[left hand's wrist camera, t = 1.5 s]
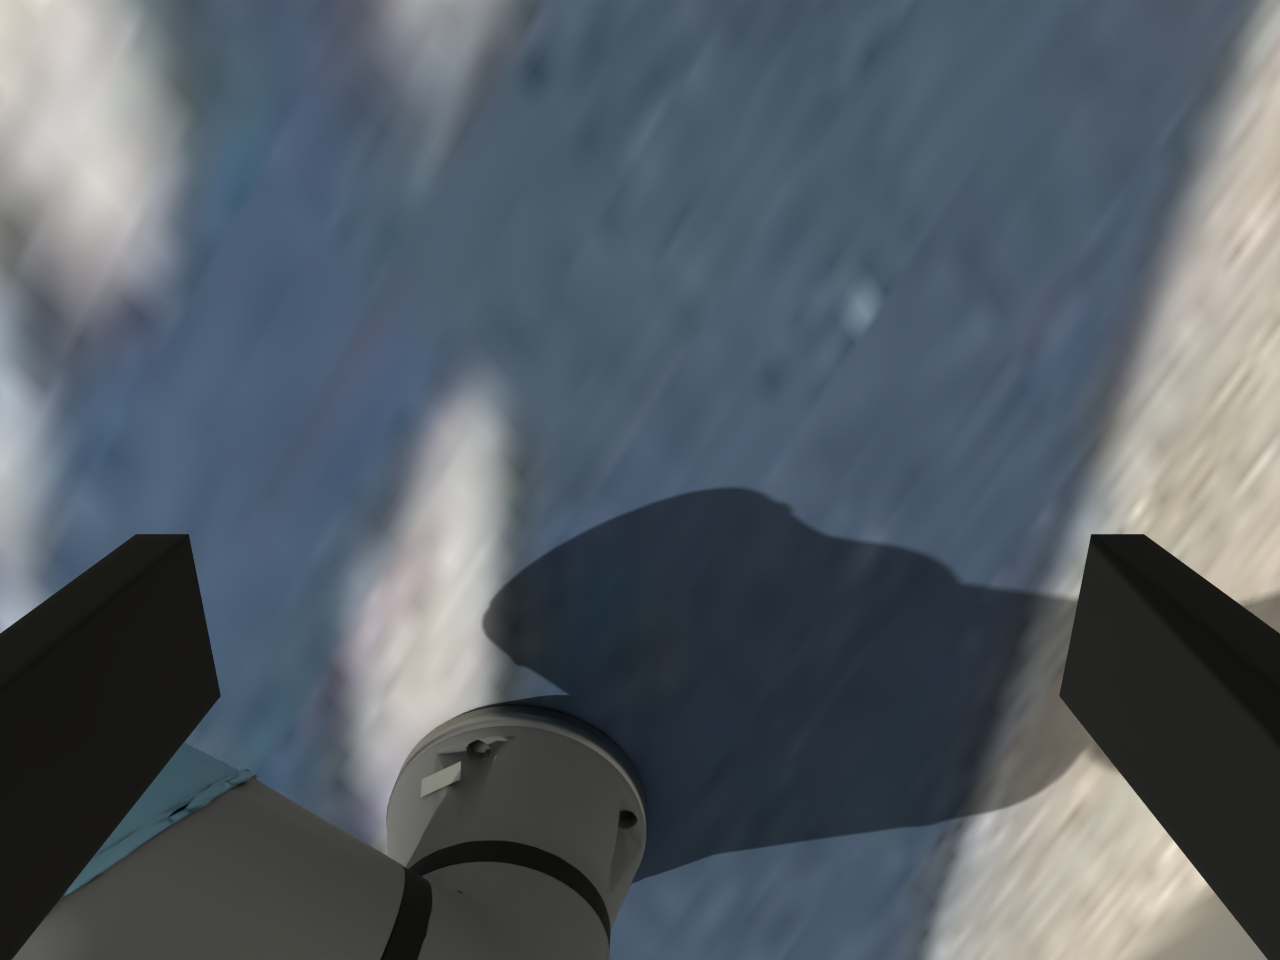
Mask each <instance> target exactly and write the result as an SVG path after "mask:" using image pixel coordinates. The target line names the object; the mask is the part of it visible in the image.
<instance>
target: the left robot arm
mask: <svg viewBox="0 0 1280 960" xmlns="http://www.w3.org/2000/svg"><path fill="white" fill-rule="evenodd" d="M220 696H221V695H220V690H219V685H218V680H217V675H216V670H215V665H214V660H213V655H212V650H211V645H210V640H209V635H208V630H207V625H206V619H205V614H204V609H203V604H202V599H201V594H200V589H199V584H198V579H197V574H196V569H195V564H194V559H193V554H192V549H191V543H190V538H189V534H136V535H134V536H133V537H132V538H130V539H129V540H128V541H126V542H125V543H124V544H122V545H121V546H119V547H118V548H117V549H115V550H114V551H113V552H111V553H110V554H108V555H107V556H106V557H104V558H103V559H102V560H100V561H99V562H98V563H96V564H95V565H93V566H92V567H91V568H89V569H88V570H87V571H85V572H84V573H83V574H81V575H80V576H78V577H77V578H76V579H74V580H73V581H72V582H70V583H69V584H67V585H66V586H65V587H63V588H62V589H61V590H59V591H58V592H57V593H55V594H54V595H52V596H51V597H50V598H48V599H47V600H46V601H44V602H43V603H42V604H40V605H39V606H37V607H36V608H35V609H33V610H32V611H31V612H29V613H28V614H26V615H25V616H24V617H22V618H21V619H20V620H18V621H17V622H16V623H14V624H13V625H11V626H10V627H9V628H7V629H6V630H5V631H3V632H2V633H0V960H609V950H610V931H611V928H612V926H613V923H614V921H615V919H616V917H617V914H618V912H619V910H620V908H621V905H622V903H623V901H624V899H625V896H626V894H627V892H628V890H629V887H630V885H631V883H632V881H633V878H634V876H635V874H636V872H637V870H638V868H639V866H640V863H641V860H642V858H643V854H644V850H645V843H646V802H645V795H644V791H643V787H642V784H641V782H640V779H639V777H638V775H637V773H636V771H635V769H634V767H633V766H632V764H631V763H630V761H629V760H628V758H627V757H626V756H625V755H624V753H623V752H622V751H621V750H620V749H619V748H618V747H617V746H616V745H615V744H614V743H613V742H612V741H611V740H610V739H608V738H607V737H606V736H605V735H603V734H602V733H601V732H599V731H598V730H596V729H595V728H593V727H591V726H590V725H588V724H586V723H584V722H582V721H580V720H578V719H576V718H573V717H571V716H568V715H565V714H562V713H559V712H556V711H552V710H548V709H543V708H537V707H530V706H498V707H490V708H484V709H479V710H475V711H472V712H468V713H465V714H463V715H460V716H457V717H455V718H453V719H451V720H449V721H447V722H445V723H443V724H442V725H440V726H438V727H437V728H435V729H434V730H433V731H431V732H430V733H429V734H427V735H426V736H425V737H424V738H423V739H422V740H421V741H420V742H419V743H418V744H417V745H416V746H415V747H414V749H413V750H412V751H411V753H410V754H409V756H408V757H407V759H406V760H405V762H404V764H403V766H402V768H401V771H400V773H399V776H398V778H397V781H396V783H395V786H394V788H393V791H392V794H391V796H390V799H389V804H388V808H387V817H386V820H387V842H388V856H386V855H384V854H383V853H381V852H379V851H378V850H376V849H374V848H372V847H371V846H369V845H367V844H366V843H364V842H362V841H360V840H359V839H357V838H355V837H353V836H352V835H350V834H348V833H347V832H345V831H343V830H341V829H340V828H338V827H336V826H334V825H333V824H331V823H329V822H328V821H326V820H324V819H322V818H321V817H319V816H317V815H315V814H314V813H312V812H310V811H309V810H307V809H305V808H303V807H302V806H300V805H298V804H296V803H295V802H293V801H291V800H290V799H288V798H286V797H284V796H283V795H281V794H279V793H278V792H276V791H274V790H273V789H271V788H269V787H268V786H266V785H265V784H263V783H261V782H260V781H258V780H256V778H257V775H255V774H254V773H253V772H252V771H250V770H247V769H245V770H238V769H236V768H234V767H232V766H230V765H228V764H226V763H224V762H222V761H220V760H218V759H216V758H214V757H212V756H210V755H208V754H206V753H204V752H202V751H200V750H198V749H196V748H194V747H192V746H190V745H188V744H186V743H184V742H185V740H186V739H187V738H188V737H189V735H190V734H191V733H192V731H193V730H194V729H195V728H196V726H197V725H198V724H199V723H200V721H201V720H202V719H203V718H204V716H205V715H206V714H207V712H208V711H209V710H210V709H211V707H212V706H213V705H214V704H215V702H216V701H217V700H218V699H219V697H220ZM1059 696H1060V697H1061V699H1062V700H1063V701H1064V702H1065V704H1066V705H1067V706H1068V707H1069V709H1070V710H1071V711H1072V712H1073V714H1074V715H1075V716H1076V718H1077V719H1078V720H1079V721H1080V723H1081V724H1082V725H1083V726H1084V728H1085V729H1086V730H1087V731H1088V733H1089V734H1090V735H1091V737H1092V738H1093V739H1094V740H1095V742H1096V743H1097V744H1098V745H1099V747H1100V748H1101V749H1102V750H1103V752H1104V753H1105V754H1106V755H1107V757H1108V758H1109V759H1110V761H1111V762H1112V763H1113V764H1114V766H1115V767H1116V768H1117V769H1118V771H1119V772H1120V773H1121V774H1122V776H1123V777H1124V778H1125V780H1126V781H1127V782H1128V783H1129V785H1130V786H1131V787H1132V788H1133V790H1134V791H1135V792H1136V793H1137V795H1138V796H1139V797H1140V798H1141V800H1142V801H1143V802H1144V804H1145V805H1146V806H1147V807H1148V809H1149V810H1150V811H1151V812H1152V814H1153V815H1154V816H1155V817H1156V819H1157V820H1158V821H1159V823H1160V824H1161V825H1162V826H1163V828H1164V829H1165V830H1166V831H1167V833H1168V834H1169V835H1170V836H1171V838H1172V839H1173V840H1174V841H1175V843H1176V844H1177V845H1178V847H1179V848H1180V849H1181V850H1182V852H1183V853H1184V854H1185V855H1186V857H1187V858H1188V859H1189V860H1190V862H1191V863H1192V864H1193V865H1194V867H1195V868H1196V869H1197V871H1198V872H1199V873H1200V874H1201V876H1202V877H1203V878H1204V879H1205V881H1206V882H1207V883H1208V884H1209V886H1210V887H1211V888H1212V890H1213V891H1214V892H1215V893H1216V895H1217V896H1218V897H1219V898H1220V900H1221V901H1222V902H1223V903H1224V905H1225V906H1226V907H1227V908H1228V910H1229V911H1230V912H1231V913H1232V915H1233V916H1234V917H1235V919H1236V920H1237V921H1238V922H1239V924H1240V925H1241V926H1242V927H1243V929H1244V930H1245V931H1246V932H1247V934H1248V935H1249V936H1250V938H1251V939H1252V940H1253V941H1254V943H1255V944H1256V945H1257V946H1258V948H1259V949H1260V950H1261V951H1262V953H1263V954H1264V955H1265V957H1266V958H1267V959H1268V960H1280V633H1278V632H1277V631H1275V630H1274V629H1273V628H1271V627H1270V626H1269V625H1267V624H1266V623H1264V622H1263V621H1262V620H1260V619H1259V618H1258V617H1256V616H1255V615H1254V614H1252V613H1251V612H1249V611H1248V610H1247V609H1245V608H1244V607H1243V606H1241V605H1240V604H1238V603H1237V602H1236V601H1234V600H1233V599H1232V598H1230V597H1229V596H1228V595H1226V594H1225V593H1223V592H1222V591H1221V590H1219V589H1218V588H1217V587H1215V586H1214V585H1213V584H1211V583H1210V582H1208V581H1207V580H1206V579H1204V578H1203V577H1202V576H1200V575H1199V574H1197V573H1196V572H1195V571H1193V570H1192V569H1191V568H1189V567H1188V566H1187V565H1185V564H1184V563H1182V562H1181V561H1180V560H1178V559H1177V558H1176V557H1174V556H1173V555H1172V554H1170V553H1169V552H1167V551H1166V550H1165V549H1163V548H1162V547H1161V546H1159V545H1158V544H1156V543H1155V542H1154V541H1152V540H1151V539H1150V538H1148V537H1147V536H1146V535H1144V534H1091V538H1090V543H1089V548H1088V554H1087V559H1086V564H1085V569H1084V574H1083V579H1082V584H1081V589H1080V594H1079V599H1078V604H1077V609H1076V614H1075V619H1074V625H1073V630H1072V635H1071V640H1070V645H1069V650H1068V655H1067V660H1066V665H1065V670H1064V675H1063V680H1062V685H1061V690H1060V695H1059Z"/></svg>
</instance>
